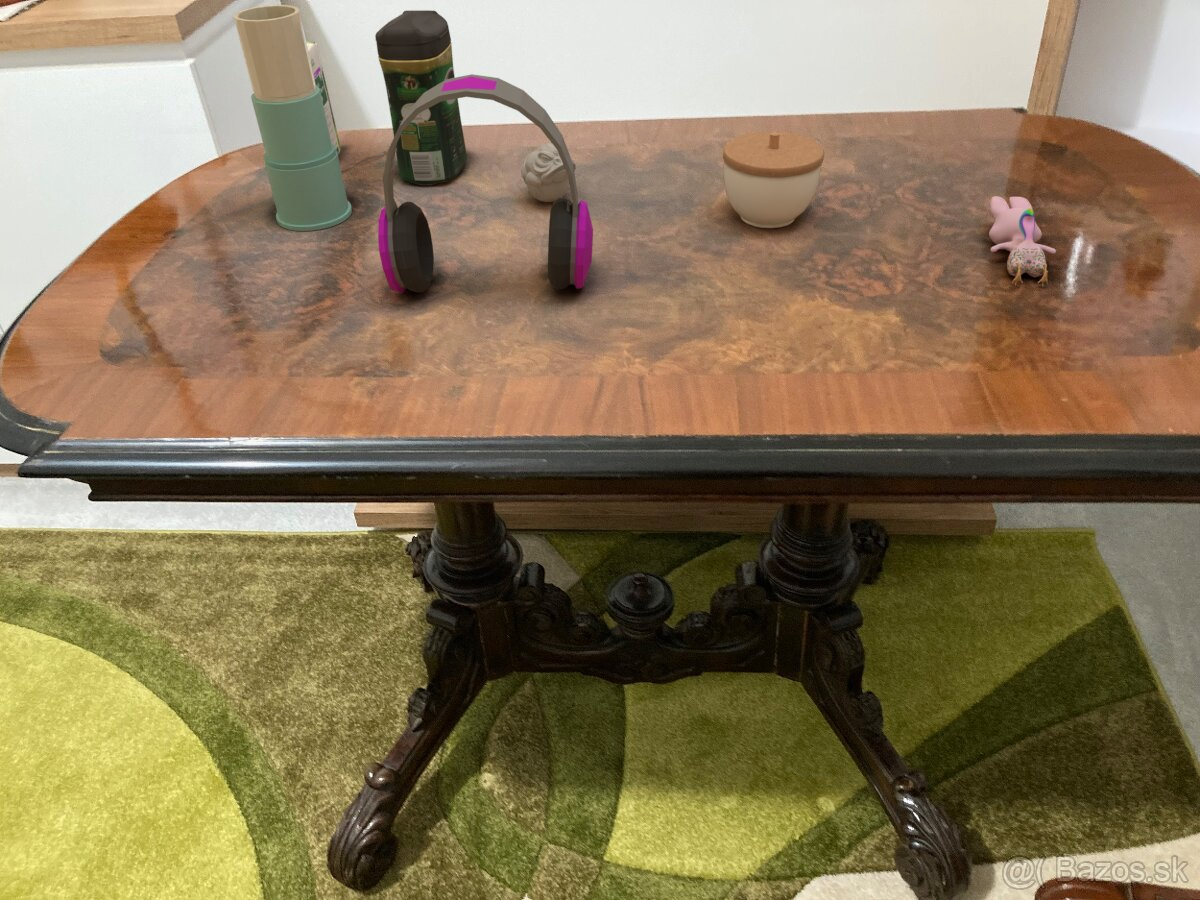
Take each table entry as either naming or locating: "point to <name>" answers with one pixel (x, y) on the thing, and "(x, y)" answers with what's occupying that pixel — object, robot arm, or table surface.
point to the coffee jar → (410, 68)
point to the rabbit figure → (1018, 237)
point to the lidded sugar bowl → (771, 176)
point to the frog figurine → (545, 174)
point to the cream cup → (275, 53)
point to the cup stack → (302, 164)
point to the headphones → (408, 228)
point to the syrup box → (323, 92)
